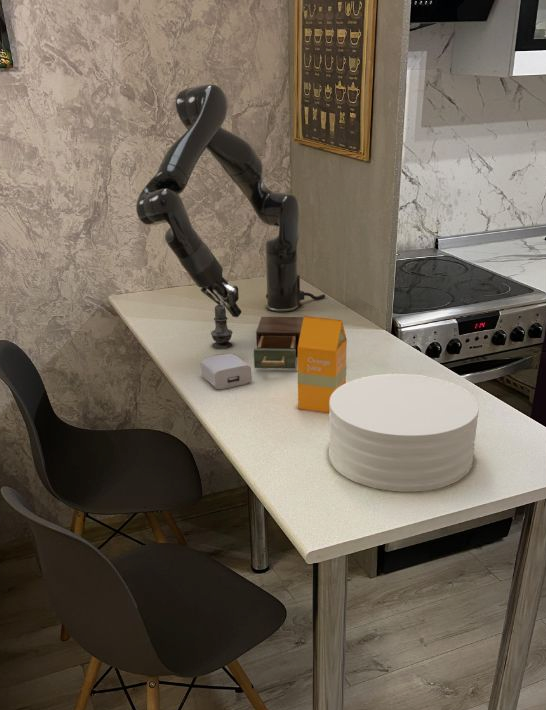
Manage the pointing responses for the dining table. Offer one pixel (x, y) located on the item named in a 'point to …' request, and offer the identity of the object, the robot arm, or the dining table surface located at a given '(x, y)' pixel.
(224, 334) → the salt shaker
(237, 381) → the charger
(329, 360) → the orange juice
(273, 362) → the drawer
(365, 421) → the plate stack
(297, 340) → the cabinet
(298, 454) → the dining table surface
